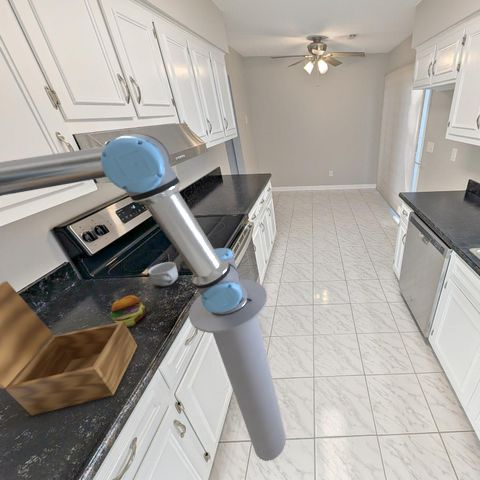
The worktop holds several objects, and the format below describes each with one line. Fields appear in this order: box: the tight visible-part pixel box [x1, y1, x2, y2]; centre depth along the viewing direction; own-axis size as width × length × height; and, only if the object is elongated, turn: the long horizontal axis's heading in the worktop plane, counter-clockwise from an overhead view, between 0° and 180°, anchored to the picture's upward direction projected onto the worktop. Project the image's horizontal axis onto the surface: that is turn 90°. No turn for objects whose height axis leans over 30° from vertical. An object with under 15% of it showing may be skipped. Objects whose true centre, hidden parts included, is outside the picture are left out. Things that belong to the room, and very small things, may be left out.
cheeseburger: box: [109, 294, 146, 328], centre depth 94 cm, size 10×11×10 cm
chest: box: [4, 321, 138, 416], centre depth 72 cm, size 19×17×11 cm
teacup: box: [147, 261, 179, 287], centre depth 113 cm, size 14×11×8 cm
